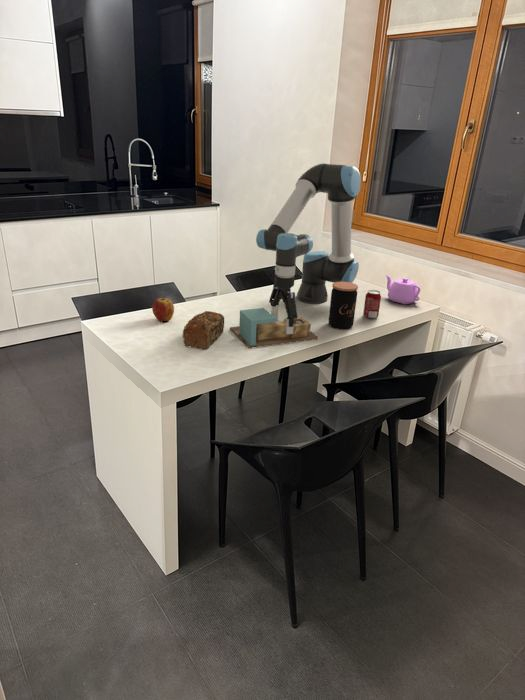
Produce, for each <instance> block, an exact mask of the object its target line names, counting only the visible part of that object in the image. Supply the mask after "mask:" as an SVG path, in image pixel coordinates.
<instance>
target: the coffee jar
mask: <svg viewBox="0 0 525 700" xmlns="http://www.w3.org/2000/svg"><path fill="white" fill-rule="evenodd" d="M331 287H332V289H331V295H330V304H329V312H328V313H329V314H328V324H329V327H331V328H333V329H335V330H341V331H342V330H343V331H344V330H350V329H352V327H353V325H354V322H355V316H356V315H355V313H356V308H357V307H356V306H357V298H358V289H359V285H357V284H355V283H354V282H352V283H350V282H335V283H333V282H332V286H331Z"/></svg>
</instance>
